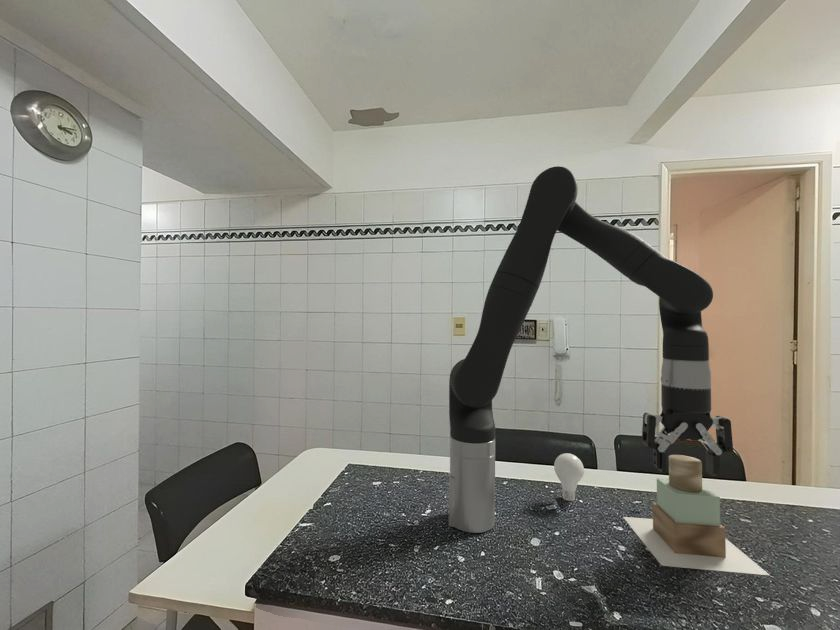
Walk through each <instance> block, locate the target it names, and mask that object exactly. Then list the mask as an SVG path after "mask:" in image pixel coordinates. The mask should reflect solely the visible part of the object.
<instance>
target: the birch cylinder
mask: <svg viewBox="0 0 840 630" xmlns="http://www.w3.org/2000/svg"><path fill="white" fill-rule="evenodd" d="M668 479H669V485H670V486H672V487H673V488H675V489H678V490H681V491H685V492H691V493H699V492H702V485H703V461H701V460H700V459H698V458H696V457H692V456H688V455H683V454H670V455H668Z"/></svg>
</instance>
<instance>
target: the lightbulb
mask: <svg viewBox="0 0 840 630" xmlns="http://www.w3.org/2000/svg"><path fill="white" fill-rule="evenodd" d="M553 467H554V472H555V474H556V476H557V478H558V480H559V481H560V485H561V488H562V499H563V500H564V501H568V502H574V501H575V500H576V490H577V487H578V483H579V482H580V481H581V480H582V478H583V476H584V475H585V473H584V472H585V469H584V468H585V466H584V464H583V462H582V461H581V459H580V458H578V456H576V455H575V454H572V453H567V452H566V453H561V454H560V455H557V457H556V458H555V461H554V464H553Z"/></svg>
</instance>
